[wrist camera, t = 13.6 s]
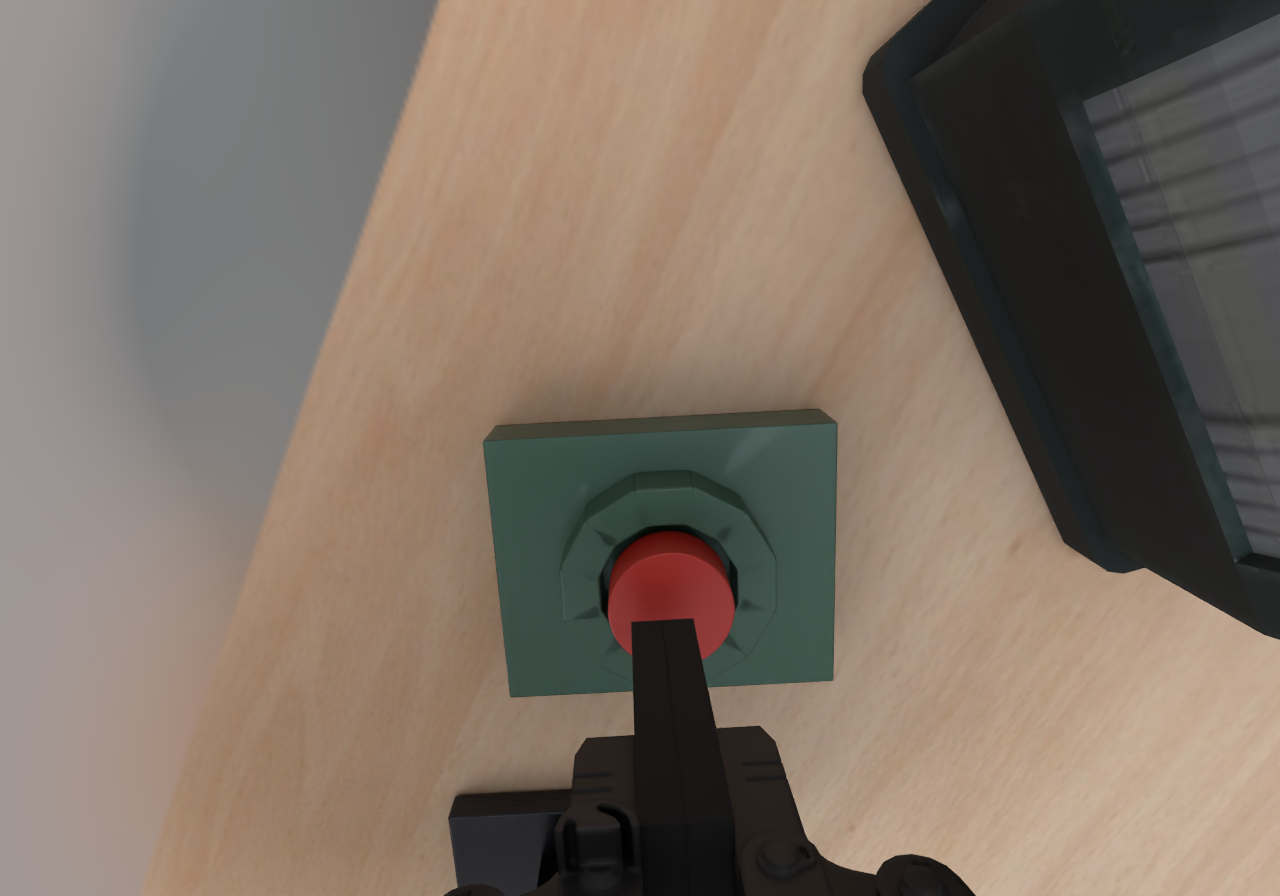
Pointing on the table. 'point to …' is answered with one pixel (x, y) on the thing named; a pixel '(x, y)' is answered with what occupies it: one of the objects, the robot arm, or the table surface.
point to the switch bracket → (506, 839)
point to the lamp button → (671, 588)
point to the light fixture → (1114, 261)
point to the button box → (653, 502)
